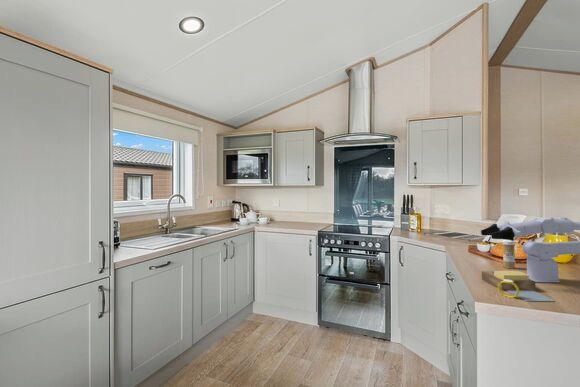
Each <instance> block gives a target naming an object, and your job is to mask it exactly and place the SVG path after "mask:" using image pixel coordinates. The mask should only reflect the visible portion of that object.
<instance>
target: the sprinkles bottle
mask: <svg viewBox="0 0 580 387" xmlns="http://www.w3.org/2000/svg"><path fill="white" fill-rule="evenodd" d="M515 245H516V242H515V240H514V241H511V240H505V239H502V246H503V249H502V250H503V254H502V255H503V256H502V258H503V259H502V260H503V266H502V267H503V268H505V269H509V270H515V268H516V266H515V265H516V264H515V263H516V261H515V260H516V258H515V257H516V255H515V254H516V253H515V252H516V251H515Z"/></svg>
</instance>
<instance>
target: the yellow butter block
mask: <svg viewBox="0 0 580 387" xmlns="http://www.w3.org/2000/svg"><path fill="white" fill-rule="evenodd" d="M494 276H496V277H498V278H500V279H502V280H504V279H508V280H512V281H529V275H527V273H524V272H522V271H519V270H494Z"/></svg>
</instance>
